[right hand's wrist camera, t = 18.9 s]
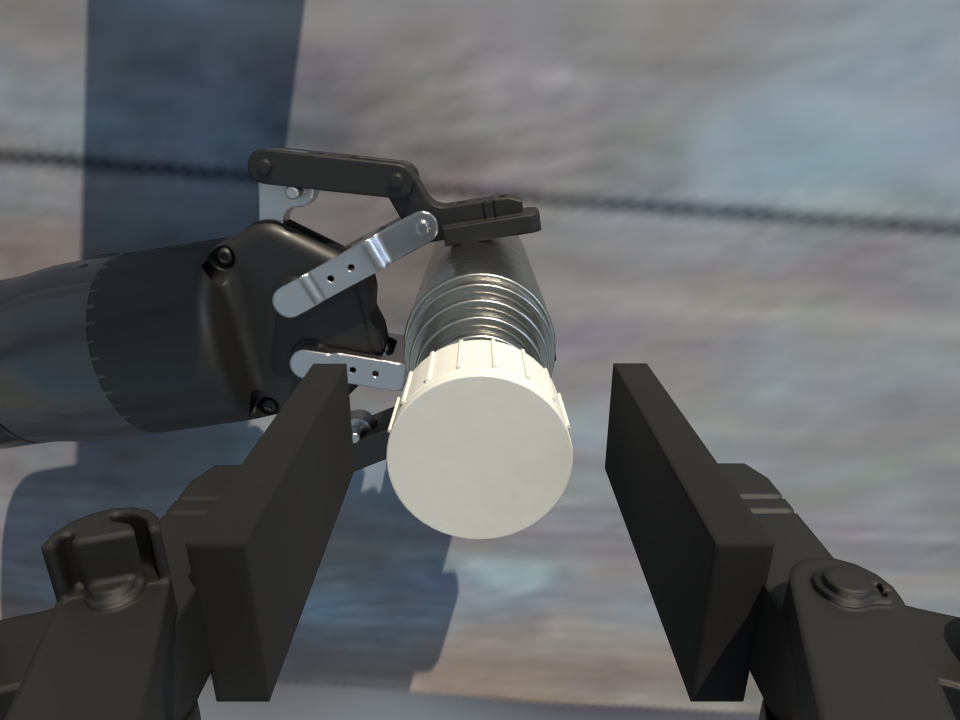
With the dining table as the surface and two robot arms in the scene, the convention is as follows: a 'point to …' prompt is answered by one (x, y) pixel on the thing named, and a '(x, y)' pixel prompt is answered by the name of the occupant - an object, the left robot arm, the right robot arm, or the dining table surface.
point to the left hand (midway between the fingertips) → (544, 284)
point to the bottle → (479, 302)
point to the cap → (479, 441)
